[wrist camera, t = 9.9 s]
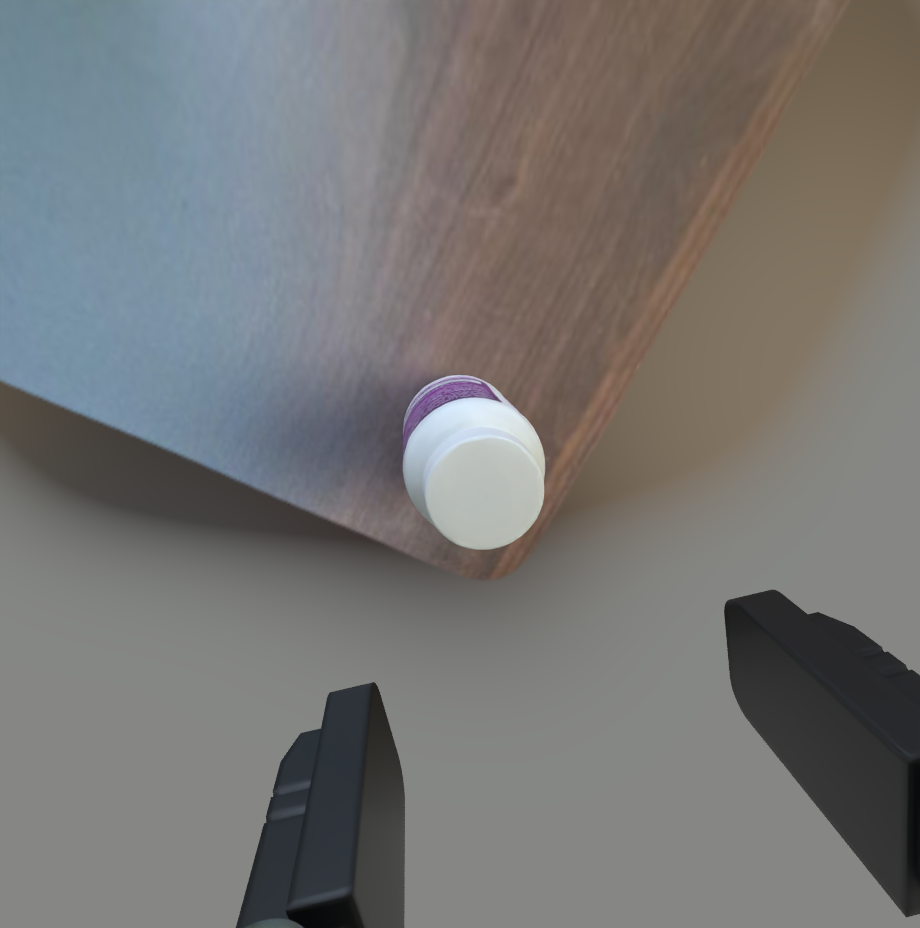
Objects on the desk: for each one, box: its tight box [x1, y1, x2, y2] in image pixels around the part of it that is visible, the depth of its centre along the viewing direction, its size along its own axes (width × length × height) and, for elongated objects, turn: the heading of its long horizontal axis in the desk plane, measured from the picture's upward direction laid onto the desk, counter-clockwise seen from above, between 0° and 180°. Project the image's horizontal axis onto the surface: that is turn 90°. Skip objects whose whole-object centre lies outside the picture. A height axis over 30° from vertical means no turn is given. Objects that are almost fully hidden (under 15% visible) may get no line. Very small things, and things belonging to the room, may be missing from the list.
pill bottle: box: [403, 375, 545, 550], centre depth 24 cm, size 5×5×10 cm
